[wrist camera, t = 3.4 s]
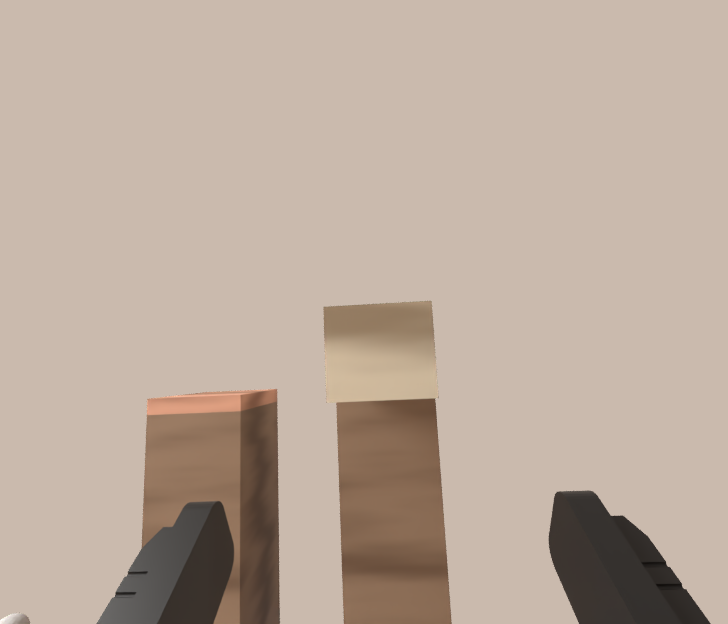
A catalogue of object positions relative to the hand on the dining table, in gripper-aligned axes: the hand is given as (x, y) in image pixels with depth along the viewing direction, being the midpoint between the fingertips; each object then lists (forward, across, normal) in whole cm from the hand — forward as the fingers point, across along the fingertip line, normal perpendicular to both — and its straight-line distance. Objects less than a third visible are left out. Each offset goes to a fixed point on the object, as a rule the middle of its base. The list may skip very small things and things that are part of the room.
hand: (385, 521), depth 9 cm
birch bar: (+15, 0, +6) cm, 16 cm away
